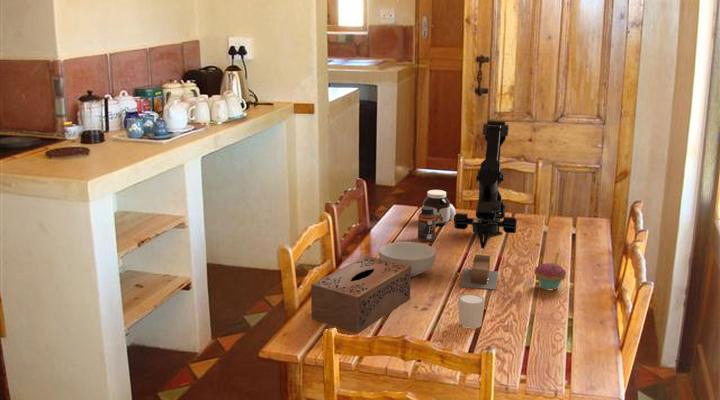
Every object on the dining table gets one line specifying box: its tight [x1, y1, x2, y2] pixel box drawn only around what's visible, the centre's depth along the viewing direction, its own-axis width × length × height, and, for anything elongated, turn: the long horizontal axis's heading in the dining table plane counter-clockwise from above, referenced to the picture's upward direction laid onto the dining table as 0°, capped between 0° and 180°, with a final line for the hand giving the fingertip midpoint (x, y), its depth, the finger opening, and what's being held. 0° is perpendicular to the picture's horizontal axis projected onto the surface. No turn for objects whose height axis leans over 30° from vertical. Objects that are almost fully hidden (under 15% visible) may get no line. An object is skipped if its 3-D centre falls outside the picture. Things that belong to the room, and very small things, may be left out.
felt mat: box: [460, 268, 499, 291], centre depth 219 cm, size 14×10×1 cm
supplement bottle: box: [417, 206, 437, 243], centre depth 252 cm, size 6×6×11 cm
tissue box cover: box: [310, 255, 412, 334], centre depth 197 cm, size 26×14×10 cm, turn 146°
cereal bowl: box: [378, 241, 437, 277], centre depth 224 cm, size 17×17×7 cm
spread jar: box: [421, 189, 457, 227], centre depth 271 cm, size 12×11×12 cm
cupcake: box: [534, 249, 567, 290], centre depth 212 cm, size 9×8×12 cm
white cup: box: [457, 293, 486, 330], centre depth 189 cm, size 7×7×7 cm
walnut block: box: [471, 254, 491, 284], centre depth 220 cm, size 4×4×12 cm
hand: (482, 248), depth 223 cm, fingers closed
